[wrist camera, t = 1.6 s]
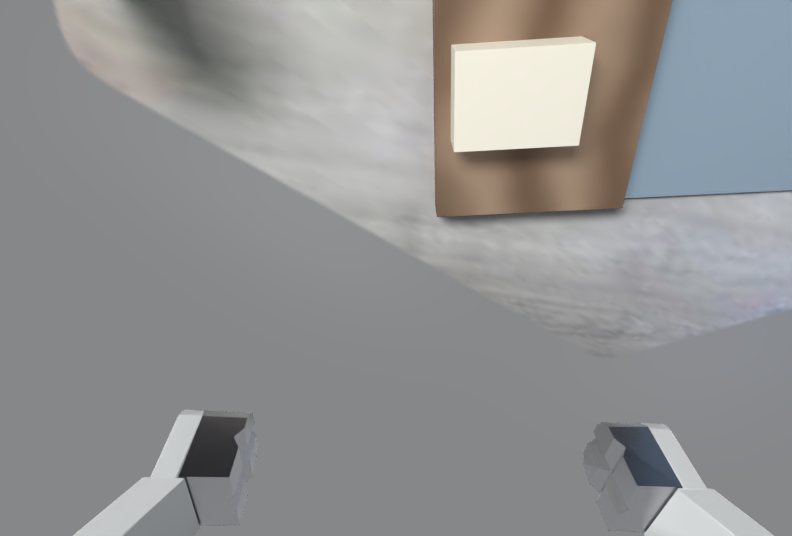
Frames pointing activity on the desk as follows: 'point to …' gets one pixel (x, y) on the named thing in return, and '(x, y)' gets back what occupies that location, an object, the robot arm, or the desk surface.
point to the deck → (603, 118)
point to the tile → (519, 93)
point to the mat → (719, 102)
